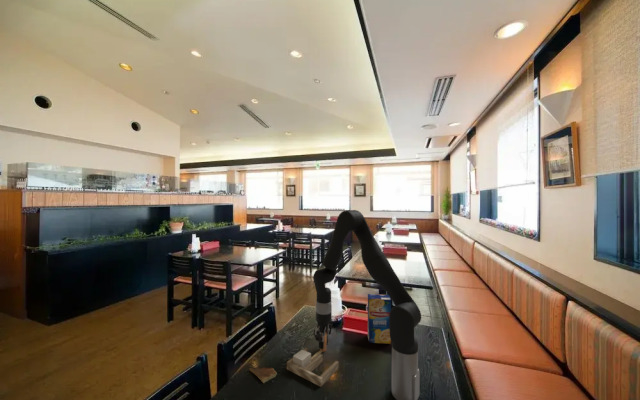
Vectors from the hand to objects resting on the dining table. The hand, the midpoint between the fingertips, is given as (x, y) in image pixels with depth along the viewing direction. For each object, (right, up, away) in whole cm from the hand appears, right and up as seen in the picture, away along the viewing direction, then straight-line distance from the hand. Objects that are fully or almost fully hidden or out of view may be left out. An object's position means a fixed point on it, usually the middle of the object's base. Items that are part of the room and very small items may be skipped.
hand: (323, 346), depth 120 cm
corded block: (-5, -2, -7) cm, 9 cm away
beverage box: (+29, -2, +10) cm, 30 cm away
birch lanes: (-5, -1, -14) cm, 15 cm away
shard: (-25, -2, -18) cm, 31 cm away
